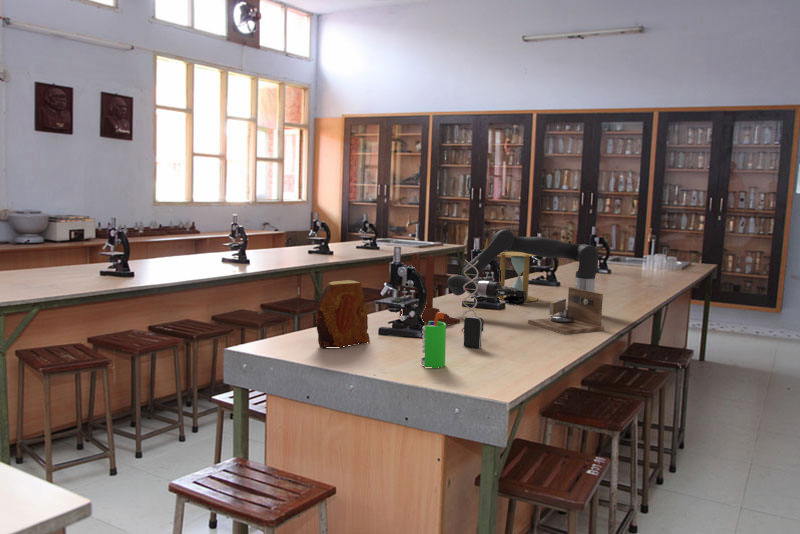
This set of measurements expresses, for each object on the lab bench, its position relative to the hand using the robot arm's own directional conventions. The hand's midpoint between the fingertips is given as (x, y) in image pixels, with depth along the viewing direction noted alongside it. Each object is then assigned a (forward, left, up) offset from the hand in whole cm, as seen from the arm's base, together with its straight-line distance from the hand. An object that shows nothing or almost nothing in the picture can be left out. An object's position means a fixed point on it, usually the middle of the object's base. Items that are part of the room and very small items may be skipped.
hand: (524, 293), depth 312 cm
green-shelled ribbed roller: (+75, +49, -14) cm, 90 cm away
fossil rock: (+92, +11, -14) cm, 93 cm away
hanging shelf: (+36, -21, -14) cm, 44 cm away
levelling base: (-13, +13, -13) cm, 23 cm away
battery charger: (+47, +31, -14) cm, 58 cm away
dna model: (+34, +8, -14) cm, 37 cm away
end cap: (-30, -46, -14) cm, 57 cm away
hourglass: (-41, -58, -14) cm, 72 cm away
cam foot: (-11, +11, -12) cm, 19 cm away
